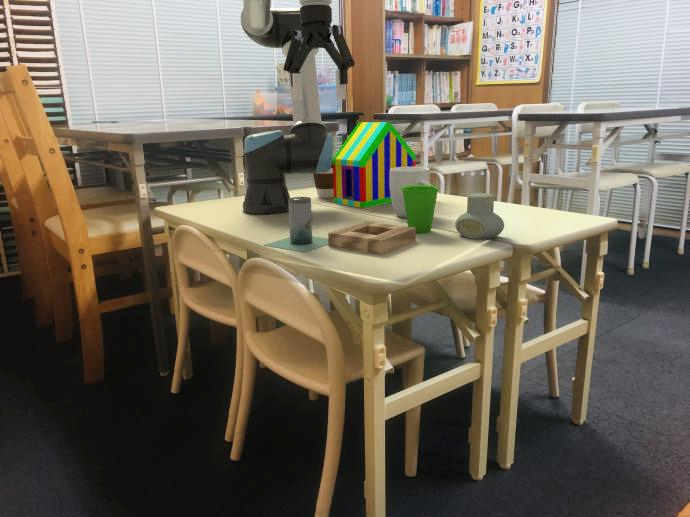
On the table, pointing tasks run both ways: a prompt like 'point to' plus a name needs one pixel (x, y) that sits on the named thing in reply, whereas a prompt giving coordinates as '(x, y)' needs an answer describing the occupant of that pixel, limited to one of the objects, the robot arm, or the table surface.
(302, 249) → the mat
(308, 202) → the gray metal can
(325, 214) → the table surface
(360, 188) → the toy house
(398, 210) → the mug
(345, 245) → the socket block
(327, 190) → the coffee cup
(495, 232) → the air freshener
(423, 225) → the cup
